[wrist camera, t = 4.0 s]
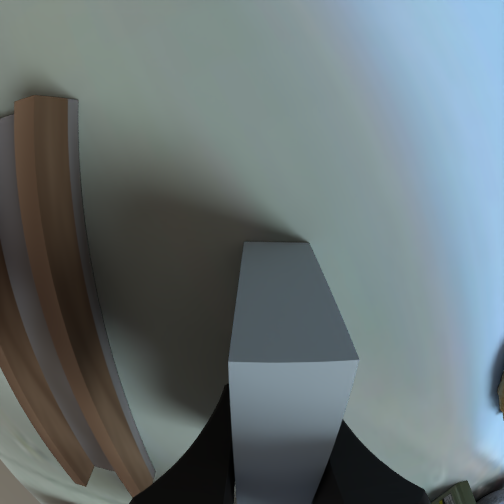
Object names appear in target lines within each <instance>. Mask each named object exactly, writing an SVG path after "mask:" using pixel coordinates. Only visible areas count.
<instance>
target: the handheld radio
mask: <svg viewBox="0 0 504 504" xmlns="http://www.w3.org/2000/svg"><path fill="white" fill-rule="evenodd" d="M431 504H476V501H475V499H474V496H473V493H472V491H471V488H470V486H469V483H468V481H463V482H459V483H457V484H455V485H454V486H453V487H451V488H450V489H449V490H447V491H446V492H445V493H444V494H442V495H441V496H439V497H438V498H437V499H435V500H434V501H433V502H431Z"/></svg>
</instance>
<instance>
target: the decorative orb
mask: <svg viewBox="0 0 504 504" xmlns="http://www.w3.org/2000/svg"><path fill="white" fill-rule="evenodd" d="M503 501H504V489H501V490H498V491H495V492H493V493H490V494H488V495H487V496H485V497H483V498H482V499H480V500H479V501H478V502H476V504H499V503H501V502H503Z"/></svg>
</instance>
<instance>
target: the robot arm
mask: <svg viewBox="0 0 504 504" xmlns="http://www.w3.org/2000/svg"><path fill="white" fill-rule="evenodd" d="M234 486H235V472H234V457H233V442H232V426H231V408H230V389H229V384H226V385H225V386H224V390H223V392H222V395H221V397H220V400H219V402H218V404H217V406H216V408H215V410H214V412H213V413H212V415H211V417H210V419H209V421H208V422H207V424H206V425H205V427H204V428H203V430H202V431H201V433H200V434H199V436H198V437H197V439H196V440H195V441H194V443H193V444H192V445H191V446H190V448H189V449H188V450H187V451H186V452H185V454H184V455H183V456H182V457H181V458H180V459H179V460H178V461H177V462H176V463H175V464H174V465H173V466H172V467H171V468H170V469H169V470H168V471H167V472H166V473H165V474H164V475H162V476H161V477H160V478H159V479H158V480H157V481H155V482H154V483H153V484H152V485H150V486H149V487H147V488H146V489H145V490H143V491H142V492H140V493H139V494H137V495H136V496H134V497H133V498H132V500H131V502H130V503H129V504H233V503H234ZM311 504H431V503H430V500H429V498H428V496H427V494H426V492H425V490H424V489H422V488H420V487H419V486H417V485H415V484H413V483H411V482H410V481H408V480H406V479H405V478H403V477H402V476H400V475H399V474H397V473H396V472H394V471H393V470H392V469H390V468H389V467H388V466H387V465H385V464H384V463H383V462H382V461H380V460H379V459H378V458H377V457H376V456H375V455H374V454H373V453H372V452H370V451H369V450H368V449H367V448H366V447H365V446H364V444H363V443H362V442H361V441H360V440H359V439H358V438H357V437H356V436H355V434H354V433H353V432H352V431H351V429H350V428H349V427H348V426H347V424H346V423H345V422H344V420H343V419H342V422H341V425H340V428H339V431H338V434H337V437H336V440H335V443H334V446H333V449H332V452H331V454H330V457H329V460H328V463H327V465H326V468H325V470H324V473H323V476H322V478H321V481H320V483H319V486H318V488H317V490H316V493H315V495H314V498H313V500H312V502H311ZM499 504H504V501H503V502H501V503H499Z"/></svg>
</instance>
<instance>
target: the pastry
mask: <svg viewBox="0 0 504 504" xmlns="http://www.w3.org/2000/svg"><path fill="white" fill-rule="evenodd" d="M497 393H498V395H499V406H500V410H501V411H502V413H503V420H504V372H503V375H502V378H501V382H500V384H499V386H498V390H497Z"/></svg>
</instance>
